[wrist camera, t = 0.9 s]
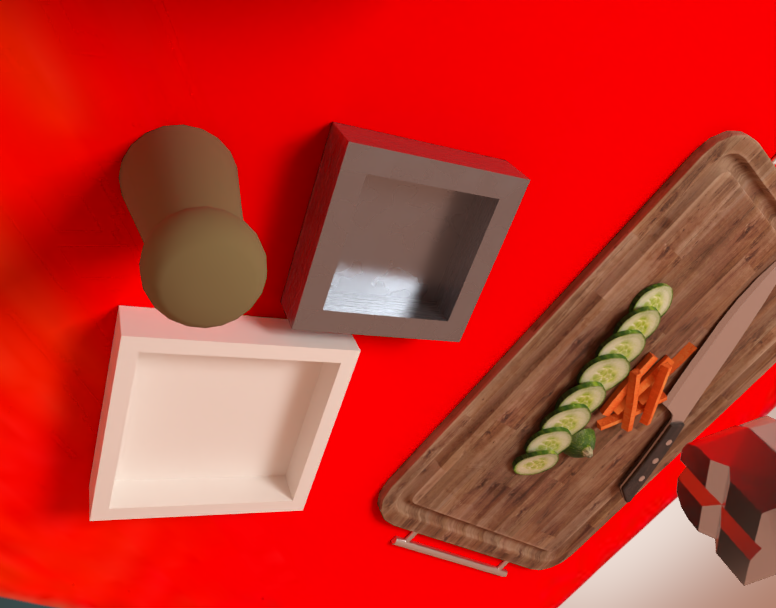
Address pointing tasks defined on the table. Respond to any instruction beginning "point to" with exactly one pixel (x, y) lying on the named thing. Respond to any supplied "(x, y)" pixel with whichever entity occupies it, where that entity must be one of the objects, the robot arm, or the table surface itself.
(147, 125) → the table surface
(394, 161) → the grey square shallow box
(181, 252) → the cork
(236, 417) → the tray
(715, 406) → the chopping board
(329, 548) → the table surface
